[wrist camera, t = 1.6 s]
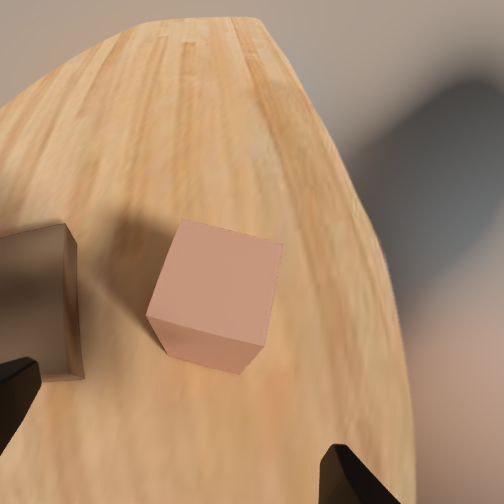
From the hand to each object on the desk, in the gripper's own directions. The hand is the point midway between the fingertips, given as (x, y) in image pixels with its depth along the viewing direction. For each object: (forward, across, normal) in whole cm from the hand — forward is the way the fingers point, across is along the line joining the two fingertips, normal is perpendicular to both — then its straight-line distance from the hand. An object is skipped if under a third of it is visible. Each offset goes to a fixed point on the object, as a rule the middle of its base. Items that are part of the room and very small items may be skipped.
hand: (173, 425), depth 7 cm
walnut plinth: (+10, +15, +7) cm, 20 cm away
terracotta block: (+13, 0, +4) cm, 14 cm away
